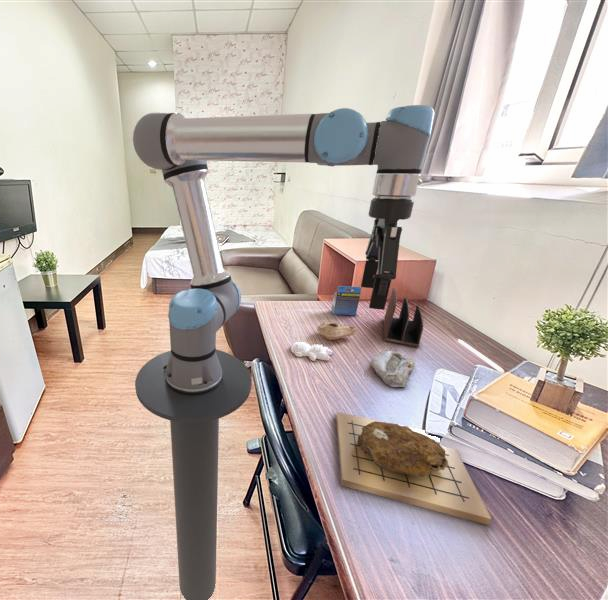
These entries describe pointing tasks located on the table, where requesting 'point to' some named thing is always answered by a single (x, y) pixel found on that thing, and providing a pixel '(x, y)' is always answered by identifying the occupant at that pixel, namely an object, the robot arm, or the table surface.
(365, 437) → the decorative rock
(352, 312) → the label tape box
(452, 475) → the grid board
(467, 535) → the table surface
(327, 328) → the pottery oil lamp
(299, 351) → the astronaut figurine
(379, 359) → the fossil
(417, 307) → the letter holder
